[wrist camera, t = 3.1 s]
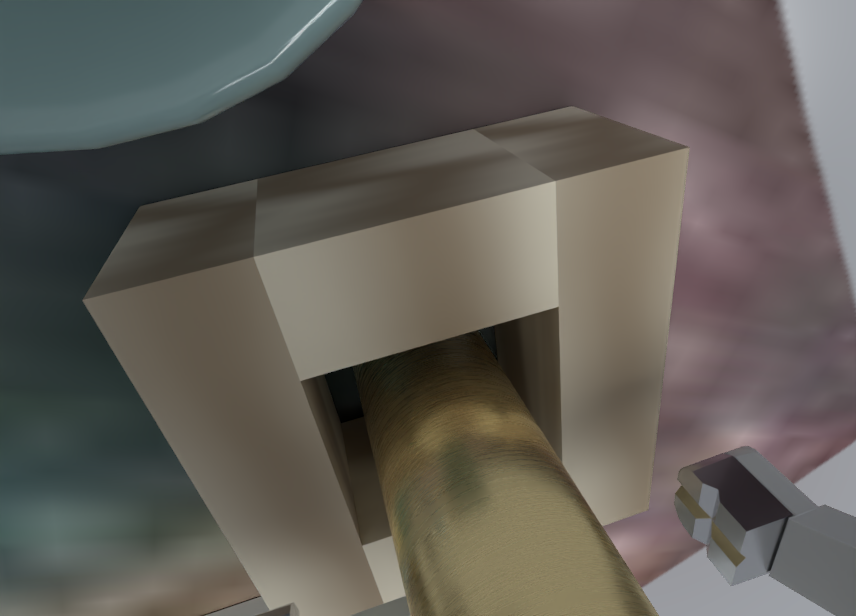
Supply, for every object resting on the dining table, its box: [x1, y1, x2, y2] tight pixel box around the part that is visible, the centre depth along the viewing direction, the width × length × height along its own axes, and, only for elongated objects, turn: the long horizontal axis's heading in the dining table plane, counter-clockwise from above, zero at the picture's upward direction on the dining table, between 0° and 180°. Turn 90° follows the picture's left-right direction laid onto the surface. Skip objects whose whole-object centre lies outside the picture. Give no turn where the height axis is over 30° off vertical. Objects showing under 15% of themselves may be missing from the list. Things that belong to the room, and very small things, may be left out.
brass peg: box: [353, 330, 659, 616], centre depth 12 cm, size 4×4×12 cm
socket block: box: [82, 106, 690, 616], centre depth 15 cm, size 12×12×5 cm
